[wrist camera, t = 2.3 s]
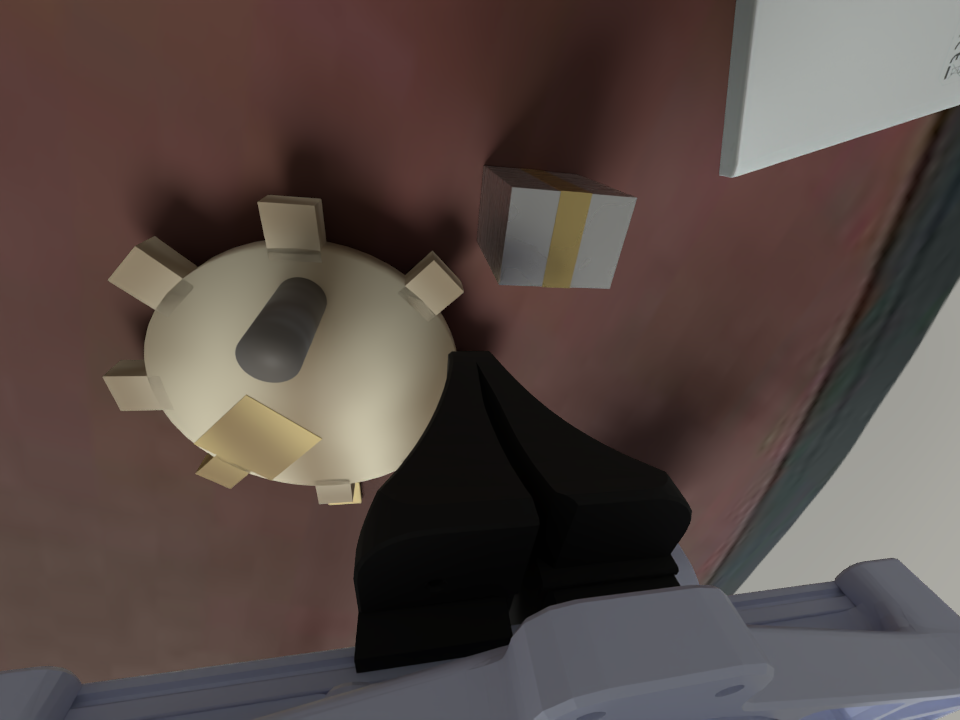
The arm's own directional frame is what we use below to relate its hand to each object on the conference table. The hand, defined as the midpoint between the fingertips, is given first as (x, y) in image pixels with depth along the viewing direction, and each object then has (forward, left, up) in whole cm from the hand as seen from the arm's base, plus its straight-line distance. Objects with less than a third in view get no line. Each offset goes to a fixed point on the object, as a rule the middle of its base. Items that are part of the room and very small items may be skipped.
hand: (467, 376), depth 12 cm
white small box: (-3, -4, -7) cm, 8 cm away
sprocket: (+6, +4, -7) cm, 10 cm away
